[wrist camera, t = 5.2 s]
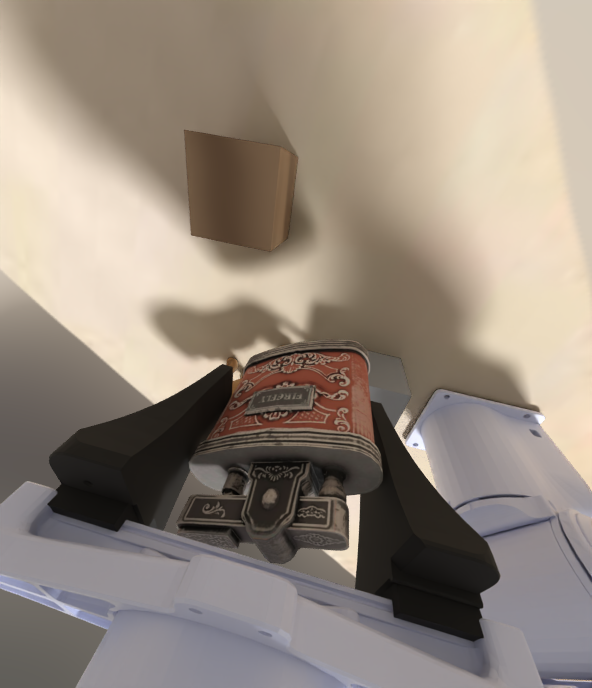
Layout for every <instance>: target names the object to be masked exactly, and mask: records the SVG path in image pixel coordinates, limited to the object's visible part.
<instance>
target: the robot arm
mask: <svg viewBox="0 0 592 688" xmlns="http://www.w3.org/2000/svg"><path fill="white" fill-rule="evenodd" d="M232 384H233V367H232V366H228V365H224V364H222V365H220V366H219V367H217V368H216V369H214V370H213V371H211V372H210V373H209V374H207V375H206V376H204V377H203V378H201V379H200V380H198V381H196V382H195V383H193V384H192V385H190V386H189V387H187V388H185V389H183V390H182V391H180V392H178V393H177V394H175V395H173V396H171V397H169V398H167V399H165V400H163V401H161V402H159V403H157V404H155V405H152V406H150V407H147V408H145V409H143V410H140V411H138V412H136V413H132V414H130V415H127V416H124V417H121V418H118V419H115V420H112V421H109V422H105V423H102V424H98V425H94V426H91V427H87V428H83V429H80V430H78V431H77V432H76V433H75V434H74V435H72V436H71V437H70V438H69V439H68V440H67V441H66V442H65V443H63V444H62V445H61V446H60V447H59V448H58V449H57V450H55V451H54V452H53V453H52V454H51V455H50V457H49V463H50V466H51V467H52V469H53V471H54V472H55V474H56V476H57V477H58V479H59V480H60V482H61V485H60V487H58V488H57V489H56V490H55V489H52V488H50V487H47V486H43V485H40V484H37V483H33V482H30V481H28V482H25V483H24V484H23V485H22V486H20V487H19V488H18V489H17V490H16V491H15V492H14V493H13V494H11V495H10V496H9V497H8V498H7V499H6V500H5V501H4V502H3V503H2V504H0V589H3V590H6V591H9V592H12V593H14V594H17V595H20V596H23V597H25V598H28V599H31V600H33V601H36V602H38V603H41V604H44V605H46V606H49V607H51V608H54V609H56V610H59V611H62V612H64V613H67V614H69V615H72V616H74V617H77V618H79V619H82V620H85V621H87V622H89V623H92V624H95V625H97V626H100V627H102V628H105V629H107V632H106V634H105V636H104V637H103V639H102V641H101V643H100V645H99V647H98V648H97V650H96V652H95V654H94V656H93V657H92V659H91V661H90V663H89V664H88V666H87V668H86V670H85V672H84V673H83V675H82V677H81V679H80V681H79V683H78V684H77V686H76V688H592V681H569V680H557V679H574V680H575V679H576V680H577V679H578V680H592V492H591V490H590V488H589V486H588V485H587V484H586V482H585V481H584V480H583V478H582V477H581V476H580V475H579V473H578V472H577V471H576V470H575V468H574V467H573V466H572V465H571V463H570V462H569V461H568V460H567V458H566V457H565V456H564V455H563V453H562V452H561V451H560V450H559V448H558V447H557V446H556V445H555V443H554V442H553V441H552V440H551V438H550V437H549V436H548V435H547V433H546V432H545V431H544V430H543V428H542V427H541V426H540V424H541V423H542V422H543V421H544V420H545V416H544V415H543V414H542V413H540V412H536V411H532V410H528V409H524V408H519V407H515V406H511V405H507V404H503V403H498V402H494V401H490V400H486V399H482V398H477V397H473V396H469V395H465V394H460V393H456V392H452V391H448V390H444V389H438V390H436V391H435V392H434V394H433V395H432V397H431V399H430V400H429V402H428V404H427V405H426V407H425V408H424V410H423V412H422V413H421V415H420V417H419V418H418V420H417V422H416V423H415V425H414V426H413V428H412V430H411V431H410V433H409V435H408V436H407V438H406V440H405V443H406V445H407V446H410V447H414V448H418V449H422V450H426V453H427V457H428V460H429V464H430V467H431V471H432V474H433V478H434V481H435V485H436V488H437V490H436V489H435V488H434V487H433V485H432V484H431V483H430V482H429V480H428V479H427V478H426V477H425V475H424V474H423V473H422V471H421V470H420V469H419V467H418V466H417V465H416V463H415V462H414V460H413V459H412V457H411V456H410V454H409V453H408V451H407V450H406V448H405V446H404V445H403V443H402V441H401V440H400V438H399V436H398V434H397V432H396V431H395V429H394V427H393V425H392V423H391V421H390V419H389V417H388V415H387V413H386V411H385V409H384V407H383V406H382V404H381V403H378V402H374V401H370V402H371V412H372V422H373V432H374V442H375V445H376V446H377V448H378V450H379V452H380V454H381V463H382V471H383V478H382V482H381V484H380V485H379V487H378V488H376V489H375V490H373V491H372V492H368V493H364V494H360V522H359V542H358V558H357V571H356V584H355V589H353V588H350V587H346V586H343V585H340V584H337V583H334V582H330V581H327V580H324V579H320V578H317V577H313V576H310V575H307V574H304V573H301V572H297V571H294V570H291V569H287V568H284V567H281V566H277V565H274V564H270V563H268V562H264V561H261V560H258V559H254V558H251V557H248V556H244V555H241V554H237V553H234V552H231V551H228V550H225V549H221V548H218V547H215V546H211V545H208V544H205V543H202V542H198V541H195V540H192V539H188V538H185V537H182V536H178V535H175V534H172V533H168V532H165V531H163V530H164V528H165V526H166V523H167V521H168V518H169V516H170V514H171V511H172V509H173V507H174V504H175V502H176V500H177V498H178V496H179V493H180V491H181V489H182V487H183V485H184V482H185V480H186V478H187V476H188V474H189V472H190V469H189V461H190V460H191V458H192V456H193V454H194V453H195V451H196V449H197V448H198V446H199V444H200V443H201V442H203V441H205V440H207V438H208V436H209V435H210V433H211V432H212V430H213V428H214V426H215V425H216V423H217V421H218V419H219V418H220V416H221V414H222V412H223V411H224V409H225V407H226V405H227V404H228V402H229V400H230V398H231V396H232ZM445 395H448V396H445Z"/></svg>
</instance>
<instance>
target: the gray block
mask: <svg viewBox="0 0 592 688" xmlns="http://www.w3.org/2000/svg"><path fill="white" fill-rule="evenodd" d="M367 352H368V355H369V361H370V372H369V374H368V382H369V392H370V401H374V402H378V403H381V404H382V406H383V407H384V409H385V411H386V413H387V415H388V417H389V419H390V421H391V423H392V425H393V427H395V425H396V424H397V422H398V420H399V418H400V416H401V414H402V413H403V411H404V409H405V407H406V405H407V403H408V402H409V400H410V398H411V392H410V389H409V385H408V382H407V378H406V375H405V371H404V368H403V364H402V361H401V358H397V357H393V356H388V355H384V354H380V353H375V352H371V351H367Z"/></svg>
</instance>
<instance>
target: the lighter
mask: <svg viewBox="0 0 592 688" xmlns="http://www.w3.org/2000/svg"><path fill="white" fill-rule="evenodd" d="M369 372H370V361H369V355H368V352H367V350H366V349H365V347H364V346H363V345H362V344H360V343H358V342H356V341H352V340H318V341H308V342H299V343H294V344H289V345H285V346H281V347H277V348H273V349H270V350H268V351H265V352H262V353H259V354H257V355H254V356H253V357H251V358H250V359H249V361H248V363H247V364H246V366H245V368H244V370H243V377H242V379H241V381H240V383H239V384H238V386H237V388H236V390H235V391H234V393H233V395H232V397H231V398H230V400H229V402H228V404H227V405H226V407H225V409H224V411H223V412H222V414H221V416H220V418H219V419H218V421H217V423H216V425H215V426H214V428H213V430H212V432H211V433H210V435H209V437H208V439H207V440H205V441H203V442H201V443H200V444H199V446H198V448H197V449H196V451H195V453H194V454H193V456H192V458H191V460H190V461H189V469H190V470H191V472H192V474H193V475H194V476H195V477H196V478H197V479H198V480H199V481H200V482H201V483H203V484H204V485H206V486H207V487H210V488H212V489H214V490H217V491H221V492H222V494H223V495H198V494H197V495H191V496H190V497H189V499H188V501H187V503H186V505H185V507H184V509H183V510H182V512H181V514H180V516H179V518H178V520H177V522H176V527H177V528H178V532H177V535H178V536H182V537H185V538H188V539H192V540H195V541H198V542H202V543H205V544H208V545H211V546H216V547H228V548H238V546H239V543H249V544H255V545H256V546H257V547H258V549H259V550H260V551H261V553H262V554H263V556H264V557H265V558H266V559H267V560H268V561H269V562H270V563H279V564H284V563H286V562H288V561H290V560H291V559H292V558H293V557H294V556H295V554H296V552H297V551H298V549H300V548H313V549H324V550H340V551H342V550H347V549H348V548H349V509H348V506H347V504H346V496H347V495H357V494H364V493H368V492H372V491H373V490H375V489H376V488H378V487H379V485H380V484H381V482H382V478H383V471H382V463H381V454H380V452H379V450H378V448H377V446H376V445H375V442H374V432H373V422H372V412H371V402H370V392H369V382H368V374H369Z"/></svg>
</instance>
